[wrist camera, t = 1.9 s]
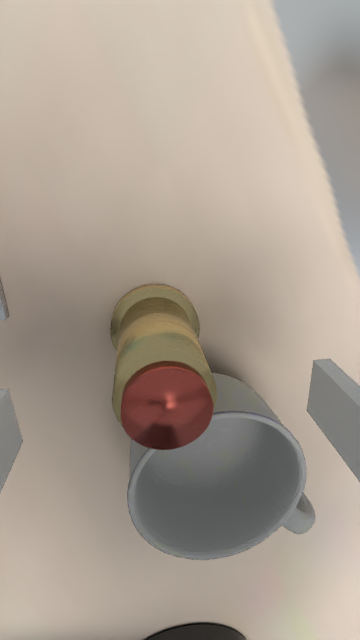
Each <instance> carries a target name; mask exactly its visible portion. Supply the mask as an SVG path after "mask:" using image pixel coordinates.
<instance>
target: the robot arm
mask: <svg viewBox="0 0 360 640" xmlns="http://www.w3.org/2000/svg"><path fill="white" fill-rule="evenodd" d="M307 412H308V413H309V414H310V416H311V417H312V418H313V420H314V421H315V422H316V424H317V425H318V426H319V428H320V429H321V430H322V432H323V433H324V434H325V436H326V437H327V438H328V440H329V441H330V442H331V444H332V445H333V447H334V448H335V449H336V451H337V452H338V453H339V455H340V456H341V457H342V459H343V460H344V461H345V463H346V464H347V465H348V467H349V468H350V469H351V471H352V472H353V473H354V475H355V476H356V477H357V479H358V480H359V482H360V386H359V385H358V384H357V383H356V382H355V381H354V380H352V379H351V378H350V377H349V376H348V375H347V374H346V373H345V372H344V371H343V370H342V369H341V368H339V367H338V366H337V365H336V364H335V363H334V362H333V361H332V360H331V359H321V360H314V361H313V368H312V375H311V383H310V390H309V398H308V405H307ZM22 442H23V440H22V437H21V433H20V429H19V426H18V422H17V418H16V415H15V411H14V407H13V404H12V400H11V396H10V393H9V389H0V493H1V490H2V488H3V486H4V483H5V481H6V479H7V477H8V474H9V472H10V470H11V467H12V465H13V463H14V460H15V458H16V456H17V454H18V451H19V449H20V447H21V444H22ZM148 640H246V639H245V638H244V637H243V636H242V635H241V634H239V633H238V632H236V631H234V630H232V629H229V628H226V627H223V626H217V625H190V626H183V627H179V628H175V629H171V630H168V631H165V632H162V633H160V634H158V635H155V636H153V637H151V638H149V639H148Z"/></svg>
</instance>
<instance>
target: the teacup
mask: <svg viewBox="0 0 360 640" xmlns="http://www.w3.org/2000/svg"><path fill="white" fill-rule="evenodd" d="M212 375H213V378H214V380H215V383H216V387H217V401H216V405H215V408H214V411H213V415H212V419H211V421H210V424H209V426H208V427H207V429H206V430H205V431H204V433H203V434H202V435H201V436H200V437H198V438H197V439H196V440H194V441H193V442H191V443H189V444H187V445H185V446H183V447H180V448H176V449H170V450H157V449H151V448H147V447H145V446H142V445H140V444H138V443H137V442H135V441H134V440H133V439H131V449H130V481H129V485H128V492H127V498H128V508H129V513H130V515H131V519H132V522H133V524H134V526H135V527H136V529H137V531H138V532H139V533H140V534H141V536H142V537H143V538H144V539H145V540H146V541H147V542H148V543H149V544H151V545H152V546H154V547H155V548H157V549H159V550H161V551H162V552H164V553H167V554H169V555H173V556H176V557H182V558H187V559H192V560H209V559H217V558H223V557H227V556H231V555H234V554H237V553H240V552H242V551H245V550H247V549H250V548H251V547H253V546H255V545H257V544H259V543H260V542H262V541H263V540H265V539H266V538H267V537H268V536H270V535H271V534H272V533H274V532H275V531H277V529H278V528H279V527H280V526H281V525H283V526H284V527H285V528H286V529H288V530H289V531H291V532H293V533H296V534H303V533H305V532H307V531H308V530H309V529H310V528H311V527H312V525H313V524H314V522H315V511H314V509H313V507H312V505H311V503H310V501H309V500H308V498H307V497H306V495H305V494H304V493H303V490H304V487H305V482H306V462H305V458H304V454H303V451H302V449H301V447H300V445H299V443H298V442H297V440H296V439H295V438H294V436H293V435H292V434H291V433H290V432H289V431H288V430H287V429H286V428H285V427H284V426H283V424H282V423H281V422H280V420H279V419H278V417H277V416H276V415H275V414H274V412H273V411H272V410H271V409H270V407H269V406H268V405H267V404H266V402H265V401H264V400H263V399H262V398H261V397H260V396H259V395H258V394H257V393H256V392H255V391H254V390H253V389H252V388H251V387H249V386H248V385H246V384H245V383H243V382H242V381H240V380H238V379H235V378H233V377H230V376H227V375H224V374H218V373H212Z"/></svg>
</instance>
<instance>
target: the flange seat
mask: <svg viewBox="0 0 360 640" xmlns="http://www.w3.org/2000/svg"><path fill="white" fill-rule="evenodd" d="M8 317H9V314H8V309H7V305H6V301H5V297H4V293H3V288H2V284H1V280H0V320H5V319H7V318H8Z"/></svg>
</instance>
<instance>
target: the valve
mask: <svg viewBox="0 0 360 640" xmlns="http://www.w3.org/2000/svg"><path fill="white" fill-rule="evenodd" d="M198 336H199V320H198V316H197V313H196V311H195V309H194V307H193V305H192V303H191V302H190V301H189V299H188V298H187V297H186V296H185V295H184V294H183V293H181V292H180V291H179V290H177V289H175V288H173V287H170V286H167V285H162V284H149V285H144V286H140V287H138V288H135V289H133V290H132V291H130V292H129V293H127V294H126V295H125V296H124V297H123V298H122V299H121V300H120V301H119V303H118V304H117V306H116V308H115V310H114V312H113V316H112V321H111V338H112V342H113V345H114V347H115V349H116V350H117V360H116V369H115V378H114V388H113V397H112V403H113V409H114V412H115V415H116V417H117V419H118V421H119V422H120V423H121V425H122V426H123V428H124V429H125V431H126V433H127V434H128V435H129V436H130V437H131V438H132V439H133V440H134V441H135V442H137V443H138V444H140V445H142V446H145V447H147V448H151V449H157V450H170V449H176V448H180V447H183V446H185V445H187V444H189V443H191V442H193V441H194V440H196V439H197V438H198V437H200V436H201V435H202V434H203V433H204V431H205V430H206V429H207V427H208V426H209V424H210V421H211V419H212V415H213V411H214V408H215V405H216V401H217V387H216V383H215V380H214V378H213V375H212V373H211V371H210V368H209V366H208V363H207V361H206V358H205V356H204V354H203V351H202V349H201V346H200V344H199V342H198Z"/></svg>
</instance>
